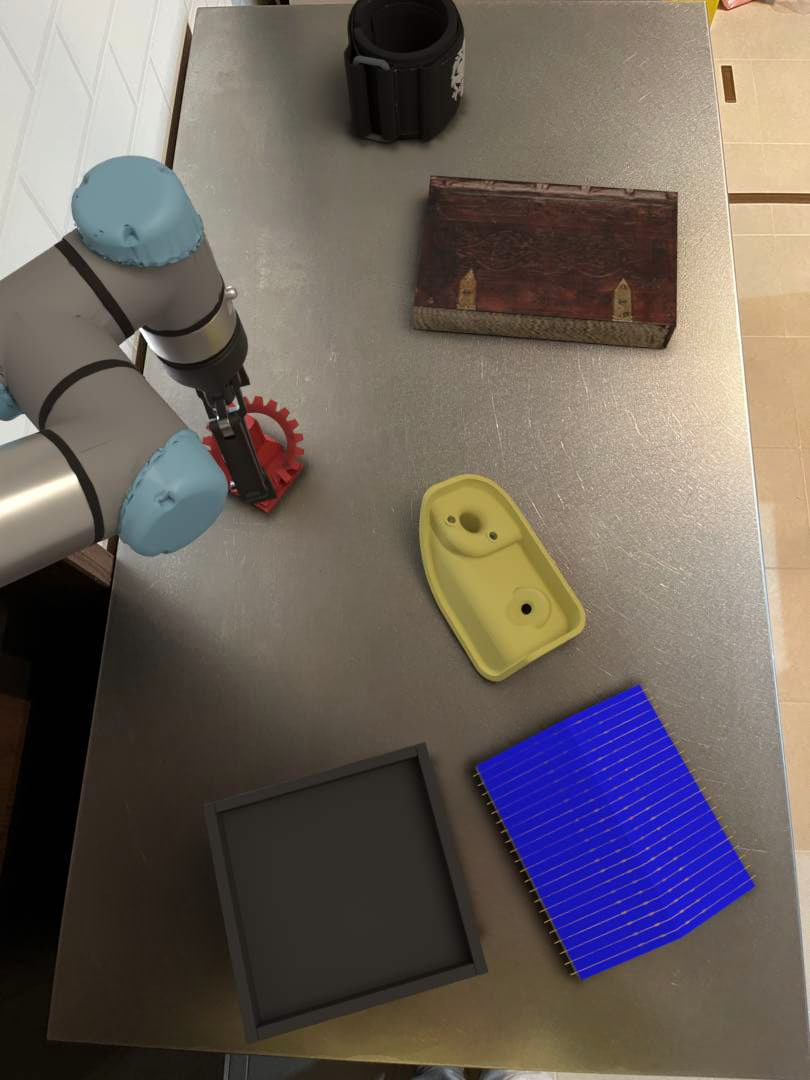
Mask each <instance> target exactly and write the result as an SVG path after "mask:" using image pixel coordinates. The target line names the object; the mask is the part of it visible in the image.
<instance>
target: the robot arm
mask: <svg viewBox="0 0 810 1080" xmlns="http://www.w3.org/2000/svg"><path fill="white" fill-rule="evenodd" d="M70 212H71V217H72V220H73V225H74V227H75V228H73V229H72V230H71V231H69V232H67V233H65V235H63V236H62V237H61V240H59V241H57V242H56V243H54V244H53V245H52V246H50V247H49V248H47V249H46V250H45V251H43V252H41V253H40V254H39V255H37V256H35V257H34V258H32V259H31V260H29V261H28V262H26V263H25V264H23V265H22V266H20V267H19V268H17V269H16V270H14V271H12V272H10V273H9V274H8V275H6V276H4V277H3V278H1V279H0V421H1V422H10V421H13V420H16V419H17V418H18V417H20V416H22V415H24V416H25V417H26V418H27V419H28V420H29V421H30V422H31V424H32V425H33V426H34V427H35V428H36V429H37V432H34V433H31V434H28V435H25V436H23V437H20V438H17V439H14V440H12V441H9V442H6V443H3V444H0V589H1V588H3V587H5V586H7V585H10V584H11V583H14V582H16V581H18V580H20V579H23V578H25V577H27V576H29V575H31V574H33V573H35V572H38V571H39V570H42V569H44V568H46V567H48V566H50V565H53V564H55V563H58V562H59V561H61V560H63V559H65V558H69V557H70V556H72V555H75V554H77V553H79V552H81V551H83V550H85V549H88V548H89V547H91V546H94V545H96V544H98V543H101V542H103V541H106V540H109V539H112V538H113V537H115V536H117V537H118V538H119V539H120V541H122V543H123V544H126V545H128V546H129V548H130V549H131V550H132V551H133V552H134V553H136V554H137V555H140V556H143V557H148V558H150V557H151V558H153V557H156V556H159V555H161V554H163V555H169V554H173V553H175V552H178V551H181V550H182V549H183V548H185V547H187V546H188V545H190V544H192V543H193V542H194V541H196V540H197V539H198V538H200V537H201V536H202V535H203V534H205V533H206V532H207V531H208V530H209V529H210V528H211V526H212V525H213V524H214V523H215V521H217V519H218V518H219V516H220V515H221V513H222V512H223V510H224V508H225V505H226V501H227V497H228V495H229V494H228V492H229V489H228V482H227V479H226V476H225V474H224V473H223V471H222V470H221V468H220V467H219V466H218V464H217V463H216V461H215V460H214V458H213V457H212V456H211V454H210V453H209V449H208V448H207V447H206V445H205V444H203V441H202V440H201V439H200V436H199V434H198V433H197V432H196V431H194V430H193V429H191V428H190V427H189V426H188V425H187V424H186V422H184V421H183V419H182V418H181V417H180V416H179V415H178V413H176V412H175V410H174V409H173V408H172V407H171V406H170V405H169V404H168V402H167V401H166V400H165V399H164V398H163V397H162V396H161V394H159V392H158V391H157V390H156V389H155V388H154V387H153V385H152V384H151V383H150V382H149V381H148V380H147V379H146V376H145V375H144V374H143V373H142V372H141V371H140V370H139V368H138V367H137V366H136V365H135V363H134V362H133V361H132V360H131V358H130V357H129V356H128V355H127V354H126V352H125V351H124V350H123V349H122V348H121V347H120V345H122V344H123V343H125V342H126V341H127V340H128V339H129V338H131V337H132V336H133V335H135V334H136V332H137V331H140V334H141V335H142V336H143V338H144V340H145V341H146V343H147V344H148V346H149V348H150V349H151V350H152V352H153V353H154V355H155V357H156V358H157V359H158V361H159V363H160V364H161V366H162V368H163V369H164V371H165V373H166V374H167V375H168V376H169V377H170V378H171V379H172V380H173V381H175V382H176V383H178V384H180V385H181V386H184V387H187V388H191V389H193V390H194V391H195V393H196V395H197V397H198V398H199V399H200V400H201V401H202V404H203V407H204V409H205V412H206V415H207V417H208V422H207V424H208V423H209V424H208V426H209V429H210V430H211V431H212V433H213V435H214V437H215V439H216V441H217V443H218V445H219V448H220V450H221V453H222V456H223V459H224V461H225V463H226V465H227V467H228V470H229V472H230V475H231V477H232V480H233V481H231V483H230V487H231V489H232V490H235V489H237V492H238V495H237V496H238V499H239V500H240V502H241V503H243V504H244V503H246V502H249V501H250V502H251V503H250V502H249V503H250V504H251V505H252V506H253V504H257V503H261V502H264V501H268V500H272V499H275V498H278V497H277V493H276V490H275V488H274V486H273V484H272V482H271V480H270V478H269V476H268V474H267V472H266V470H265V468H264V466H260V463H259V460H258V457H257V454H256V451H255V448H254V445H253V442H252V439H251V436H250V433H249V430H248V427H247V424H246V421H245V418H244V417H245V416H246V414H248V413H247V406H246V403H245V400H244V395H243V392H242V388H244V387H249V386H251V382H250V378H249V377H250V376H248V373H247V371H246V369H245V366H244V363H245V361H246V359H247V356H248V351H249V340H248V336H247V333H246V330H245V328H244V325H243V323H242V321H241V317H240V316H239V314H238V312H237V309H236V307H235V306H234V302H233V300H235V299H236V298H237V297H238V291H237V288H236V287H235V286H228V287H227V286H226V283H225V280H224V278H223V276H222V274H221V271H220V269H219V266H218V264H217V261H216V259H215V255H214V253H213V250H212V248H211V245H210V243H209V239H208V236H207V233H206V232H205V226H204V222H203V220H202V217H201V215H200V214H198V211H197V209H196V208H195V206H194V204H193V201H192V200H191V198H190V196H189V194H188V193H187V190H186V189H185V187H184V185H183V183H182V181H181V180H180V178H179V177H178V175H177V174H176V173H175V171H174V170H172V169H171V168H169V167H168V166H167V165H166V164H164V163H163V162H160V161H158V160H156V159H153V158H151V157H147V156H142V155H132V154H131V155H120V156H115V157H110V158H108V159H106V160H103V161H100V162H99V163H98V164H95V166H92V167H91V168H90V169H89V170H88V171H87V172H85V173H84V175H83V177H82V180H81V183H80V184H79V185H78V187H76V188H75V189H74V191H73V193H72V195H71V203H70ZM235 399H236V401H237V404H238V405H236V406H235V407H231V408H228V406H227V405H230V404H231V403H232V402H233V403H234V400H235ZM212 433H211V434H212Z"/></svg>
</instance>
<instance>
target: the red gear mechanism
mask: <svg viewBox="0 0 810 1080" xmlns="http://www.w3.org/2000/svg"><path fill="white" fill-rule="evenodd" d="M243 397H244V400H245V403H246V406H247V414H246V416H245V417H244V418H245V421H246V424H247V427H248V430H249V433H250V436H251V439H252V442H253V445H254V448H255V451H256V454H257V457H258V460H259V463H260V466H264V468H265V470H266V472H267V474H268V476H269V478H270V480H271V482H272V484H273V486H274V488H275V490H276V493H277V497H278V498H275V499H272V500H268V501H264V502H261V503H257V504H253V505H254V506H255V507H256V508H258V509H260V510H261V511H263V512H264V513H266V514H269V513H271V511H272V509H273V508H274V506H276V504H277V502H278V501H279V500H280V499H281V497H282V496H283V495H284V494H285V492H286V491H287V490H288V488H289V487H290V485H291V484H292V483H293V482H294V480H295V479H296V477H298V476H299V474H300V473H301V471H302V469H303V468H304V465H303V464H301V462H300V461H298V460H297V459H296V457H301V456H304V454H305V449H304V448H302V447H299V446H297V444H299V443H300V442H303V441H304V440H305V439H304V435H303V433H300V432H295V431H294V430H295V429H297V427H299V426H300V424H299V421H298V420H297V419H296V418H293V419H290V420H287V419H288V417H289V415H290V413H291V412H290V411H289V410H288V409H287V408H286V407H282V408H281V409H279V410H277V408H278V407H277V406H278V401H276V400H274V399H271V398H270V399H269V400H268V402H267V403H266V405H264V398H263V396H260V395H254V397H253V401H252V403H251V402H250V400H249V398H248V396H246V395H243ZM227 406H228V408H231V407H235V406H237V405H236V404H235V403H234V401H233V402H232V403H231V404H230V405H227ZM250 414H261V415H265V416H267V417H269V418H271V419H272V420H273V421H275V422H276V423H277V424H278V425H279V427H280V428H281V429H282V431H283V433H284V437H285V440H286V450H285V448H284V446H283V445H282V443H280V442H279V441H277V440H275V439H274V438H272V437H270V436H269V435H267V434H266V433H264V432H263V429H262V427H261V425H260V423H259V421H258V419H257V418H255V417H254V416H252V415H250ZM208 424H209V423H208V422H207V423H206V426H205V429H206V430H207V431H208V432H210V433H211V436H204V437H202V443H203V444H204V446H208V447H210V449H208V451H209V453H210V454H211V456H212V457H213V458H214V460H215V461H216V463H217V464H218V466H219V467H220V468H221V470H222V471H223V473H224V474H225V476H226V479H227V482H228V490H230V493H231V494H233V495H235V496H238V492H237V489H235V490H232V489H231V487H230V483H231V481H233V480H232V477H231V475H230V472H229V470H228V467H227V465H226V462H225V460H224V457H223V455H222V453H221V450H220V448H219V445H218V443H217V441H216V439H215V437H214V435H213V433H212V431H211V430H210V429H209V426H208ZM285 451H286V452H285ZM248 502H249V503H250V504H251V502H250V501H248ZM253 505H252V506H253Z"/></svg>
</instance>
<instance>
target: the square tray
mask: <svg viewBox="0 0 810 1080" xmlns="http://www.w3.org/2000/svg"><path fill="white" fill-rule="evenodd" d="M202 810H203V814H204V819H205V821H204V822H205V826H206V832H207V837H208V842H209V848H210V853H211V858H212V864H213V870H214V876H215V880H216V887H217V891H218V896H219V902H220V907H221V913H222V918H223V924H224V929H225V935H226V940H227V945H228V951H229V956H230V961H231V962H230V963H231V968H232V973H233V978H234V984H235V990H236V995H237V1000H238V1004H239V1005H238V1006H239V1011H240V1016H241V1022H242V1029H243V1034H244V1039H245V1044H246V1045H251V1044H254V1043H257V1042H260V1041H264V1040H268V1039H271V1038H274V1037H277V1036H280V1035H284V1034H287V1033H291V1032H294V1031H297V1030H298V1031H299V1030H301V1029H304V1028H307V1027H311V1026H314V1025H318V1024H321V1023H325V1022H327V1021H331V1020H335V1019H338V1018H340V1017H344V1016H348V1015H351V1014H355V1013H358V1012H361V1011H364V1010H368V1009H371V1008H374V1007H378V1006H381V1005H384V1004H387V1003H391V1002H394V1001H398V1000H401V999H404V998H408V997H410V996H414V995H418V994H421V993H425V992H428V991H431V990H435V989H438V988H441V987H445V986H447V985H451V984H454V983H458V982H461V981H465V980H468V979H472V978H474V977H475V978H476V977H477V976H481V975H484V974H485V975H486V974H488V973H489V968H488V964H487V961H486V957H485V953H484V951H483V946H482V943H481V940H480V939H481V938H480V936H479V931H478V928H477V925H476V921H475V917H474V913H473V910H472V906H471V903H470V899H469V895H468V891H467V888H466V884H465V880H464V878H463V877H464V876H463V873H462V869H461V866H460V863H459V862H460V861H459V859H458V855H457V852H456V848H455V844H454V841H453V837H452V834H451V830H450V826H449V822H448V819H447V815H446V812H445V808H444V803H443V801H442V797H441V794H440V789H439V786H438V783H437V779H436V776H435V771H434V768H433V765H432V761H431V757H430V753H429V750H428V746H427V743H426V742H425V741H423V742H420V743H416V744H413V745H409V746H406V747H403V748H398V749H394V750H392V751H388V752H384V753H381V754H377V755H374V756H370V757H366V758H363V759H360V760H356V761H353V762H350V763H346V764H342V765H339V766H335V767H331V768H328V769H325V770H320V771H317V772H314V773H310V774H307V775H303V776H300V777H296V778H293V779H289V780H286V781H282V782H279V783H276V784H271V785H268V786H264V787H261V788H258V789H254V790H251V791H247V792H244V793H240V794H237V795H232V796H229V797H227V798H222V799H219V800H215V801H212V802H207V803H205V804H203V805H202Z"/></svg>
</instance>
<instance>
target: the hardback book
mask: <svg viewBox="0 0 810 1080" xmlns="http://www.w3.org/2000/svg"><path fill="white" fill-rule="evenodd" d="M678 202H679V191H671V190H656V189H641V188H627V187H626V188H625V187H613V186H612V187H610V186H609V187H608V186H594V185H580V184H568V183H567V184H566V183H564V184H563V183H551V182H537V181H536V182H535V181H523V180H522V181H521V180H509V179H508V180H507V179H490V178H476V177H464V176H463V177H461V176H448V175H447V176H446V175H432V174H431V175H430V177H429V183H428V193H427V200H426V207H425V215H424V220H423V228H422V235H421V242H420V251H419V258H418V265H417V270H416V271H417V273H416V280H415V286H414V294H413V300H412V301H413V302H412V314H413V316H412V317H413V318H412V319H413V329H417V330H418V329H419V330H429V331H439V332H440V331H441V332H453V333H454V332H455V333H465V334H466V333H467V334H477V335H491V336H503V337H516V338H528V339H542V340H553V341H566V342H576V343H577V342H579V343H591V344H603V345H616V346H625V347H626V346H627V347H639V348H641V347H642V348H653V349H667V347H668V345H669V343H670V341H671V339H672V337H673V334H674V332H675V330H676V328H677V326H678V325H677V324H678V232H679V231H678V230H679V229H678V223H679V222H678V221H679V220H678V219H679V217H678V216H679V206H678V205H679V203H678Z"/></svg>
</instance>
